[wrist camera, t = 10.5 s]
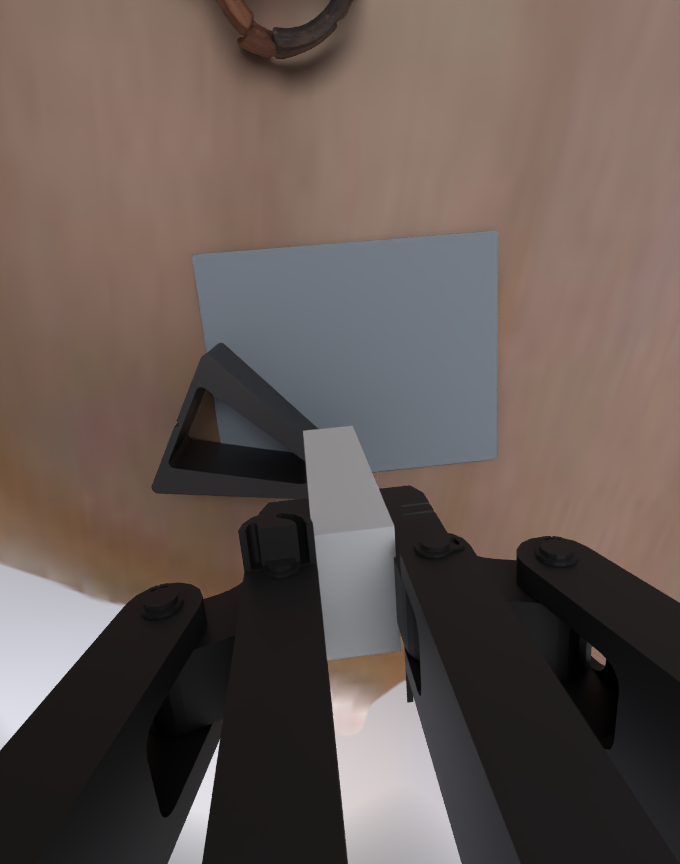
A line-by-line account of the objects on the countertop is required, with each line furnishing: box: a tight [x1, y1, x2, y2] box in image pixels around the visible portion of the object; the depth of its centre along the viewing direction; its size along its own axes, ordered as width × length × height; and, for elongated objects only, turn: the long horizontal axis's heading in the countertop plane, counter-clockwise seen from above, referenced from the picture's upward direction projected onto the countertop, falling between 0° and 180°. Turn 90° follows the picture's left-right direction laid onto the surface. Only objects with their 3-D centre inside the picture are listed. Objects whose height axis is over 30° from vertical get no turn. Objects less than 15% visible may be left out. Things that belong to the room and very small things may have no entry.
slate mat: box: [192, 230, 498, 472], centre depth 36 cm, size 20×16×1 cm
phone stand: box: [152, 343, 318, 499], centre depth 34 cm, size 9×6×12 cm
